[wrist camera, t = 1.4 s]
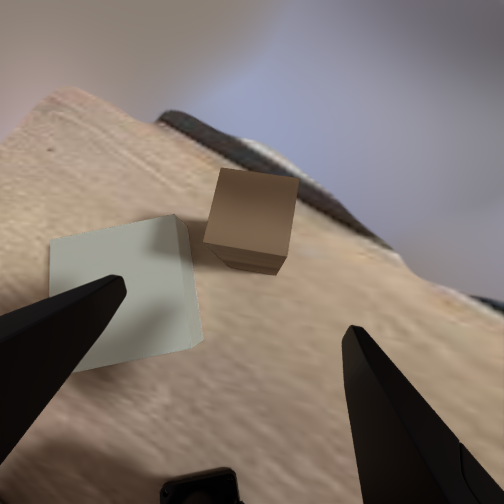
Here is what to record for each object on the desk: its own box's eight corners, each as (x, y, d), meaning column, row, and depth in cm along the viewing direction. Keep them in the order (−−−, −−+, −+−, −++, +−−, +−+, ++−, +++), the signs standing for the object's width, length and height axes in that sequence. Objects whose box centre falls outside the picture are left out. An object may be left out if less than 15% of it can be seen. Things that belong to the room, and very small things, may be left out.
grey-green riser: (87, 363, 21) (47, 377, 17) (84, 249, 24) (50, 239, 20) (204, 339, 21) (191, 348, 17) (188, 227, 24) (174, 214, 20)
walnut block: (276, 275, 22) (287, 256, 12) (229, 267, 22) (202, 242, 12) (283, 229, 23) (299, 178, 13) (238, 222, 23) (220, 167, 13)
